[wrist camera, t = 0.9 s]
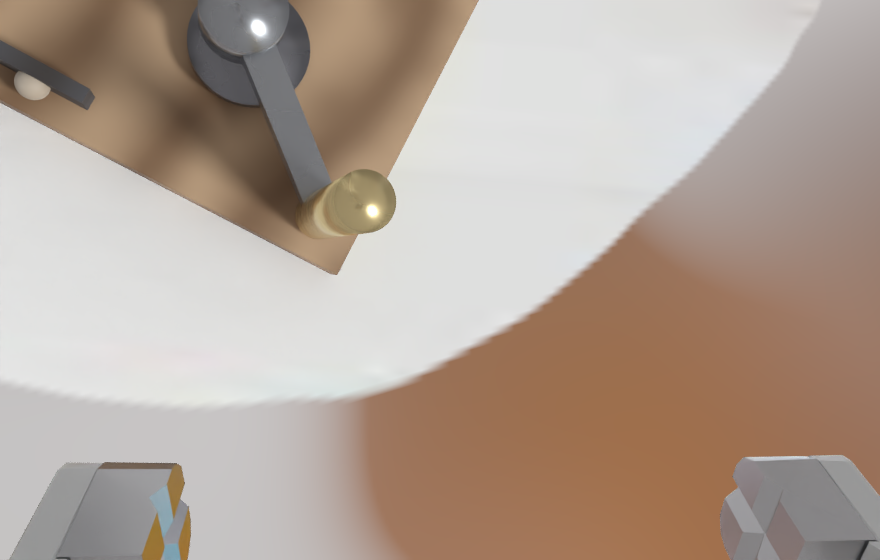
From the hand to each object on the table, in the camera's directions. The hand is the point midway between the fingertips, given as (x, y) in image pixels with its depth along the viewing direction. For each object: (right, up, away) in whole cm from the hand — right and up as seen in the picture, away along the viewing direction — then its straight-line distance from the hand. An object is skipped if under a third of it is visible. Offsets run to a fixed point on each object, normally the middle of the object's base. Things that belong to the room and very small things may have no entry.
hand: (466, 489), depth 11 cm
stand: (-12, +17, +31) cm, 37 cm away
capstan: (-10, +15, +29) cm, 34 cm away
